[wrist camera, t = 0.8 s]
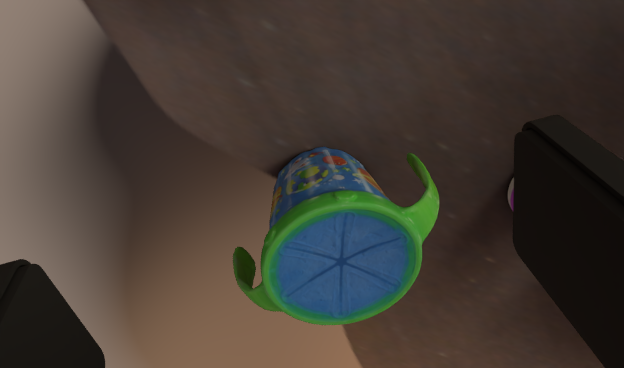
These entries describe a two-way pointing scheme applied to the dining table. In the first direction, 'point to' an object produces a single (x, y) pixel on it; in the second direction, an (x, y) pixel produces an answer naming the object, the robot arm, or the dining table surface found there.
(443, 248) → the dining table surface
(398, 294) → the snack cup
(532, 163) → the robot arm
